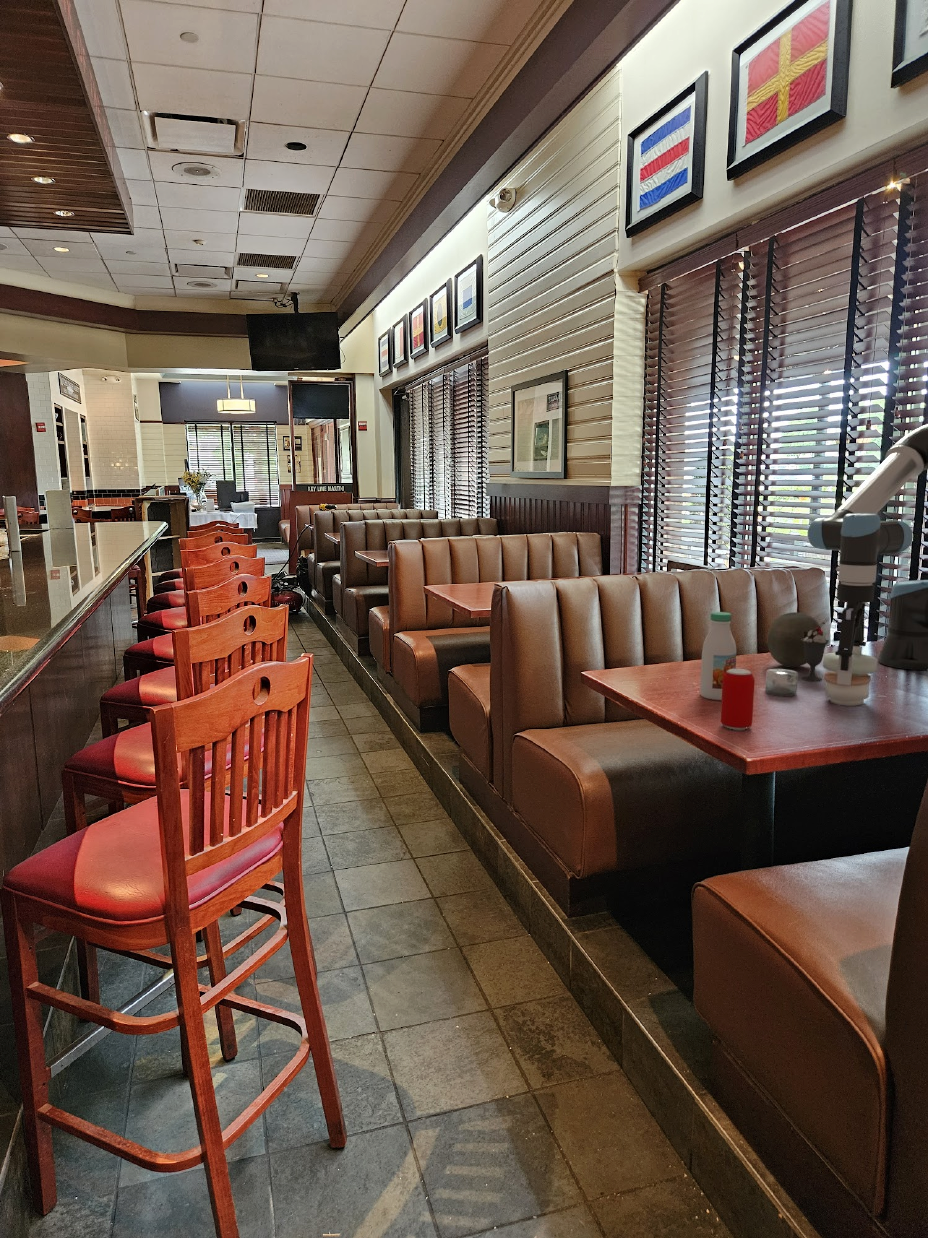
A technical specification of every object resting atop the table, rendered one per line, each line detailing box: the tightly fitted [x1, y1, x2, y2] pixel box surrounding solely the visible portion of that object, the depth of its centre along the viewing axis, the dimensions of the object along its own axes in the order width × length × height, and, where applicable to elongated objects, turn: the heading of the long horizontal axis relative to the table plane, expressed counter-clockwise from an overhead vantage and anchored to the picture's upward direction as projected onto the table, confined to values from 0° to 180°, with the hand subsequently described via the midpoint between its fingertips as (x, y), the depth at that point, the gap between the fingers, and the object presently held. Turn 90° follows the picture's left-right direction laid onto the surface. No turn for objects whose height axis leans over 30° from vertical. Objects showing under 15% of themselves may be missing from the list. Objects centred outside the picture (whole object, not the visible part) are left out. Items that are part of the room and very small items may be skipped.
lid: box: [822, 652, 878, 675], centre depth 183 cm, size 11×11×2 cm
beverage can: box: [720, 668, 756, 731], centre depth 165 cm, size 6×6×12 cm
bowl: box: [823, 670, 872, 707], centre depth 184 cm, size 10×10×6 cm
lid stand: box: [764, 668, 799, 697], centre depth 192 cm, size 7×7×5 cm
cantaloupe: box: [766, 612, 821, 668], centre depth 216 cm, size 14×14×15 cm
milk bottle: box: [699, 611, 737, 701], centre depth 188 cm, size 8×8×20 cm
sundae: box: [800, 622, 830, 682], centre depth 204 cm, size 7×7×15 cm
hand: (848, 678), depth 183 cm, fingers closed on lid, 11 cm apart
